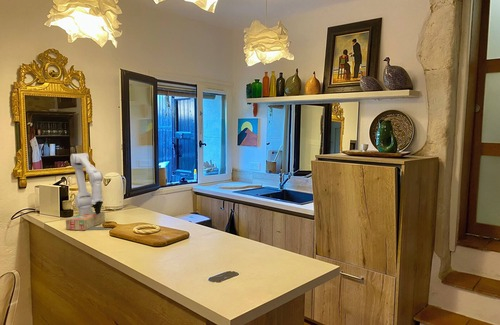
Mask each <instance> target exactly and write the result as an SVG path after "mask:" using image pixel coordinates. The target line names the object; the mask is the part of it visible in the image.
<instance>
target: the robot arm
mask: <svg viewBox="0 0 500 325" xmlns="http://www.w3.org/2000/svg"><path fill="white" fill-rule="evenodd" d="M69 157H70V160H69V161H70V166H71V168H74V174H75V178H76V184H77V189H78V193H77V194H75V197H74V199H75V201H74V203H75V207H76V208H77V209H78V215H85V214H87V213H91V212H95V213H96V214H100V212H102V211H101V209H102V206H103V203H104V200H105V198H103V189H102V181H103V180H104V177H103V176H104V175H103V172H102V171H100V170H97V168H96V167H95V166H94V165H93V164H91V163H90V162H91V161H89V160H90V156H89V154H88V152H84V153H83V152H82V153H71V154H70V156H69ZM84 168H85V169H84ZM84 170H85V172H86V174H87V175H88V179H89V184H90V188H91V193H90V192H89V191H88V189H87V184H86V180H85V179H86V178H85V174H84ZM92 207H93V208H92ZM93 209H94V210H93Z"/></svg>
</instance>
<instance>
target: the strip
mask: <svg viewBox="0 0 500 325" xmlns="http://www.w3.org/2000/svg"><path fill="white" fill-rule="evenodd" d="M103 227H104V226H93V227H90V228H88V229H86V230H76V232H77V231H78V232H79V231H109V230H110V229H112V228H103ZM112 230H113V229H112ZM110 231H111V230H110Z"/></svg>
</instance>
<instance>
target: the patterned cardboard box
mask: <svg viewBox="0 0 500 325" xmlns="http://www.w3.org/2000/svg"><path fill="white" fill-rule="evenodd" d="M105 216H106V213H105V211H100V214H96V213H95V211H93V212H91V213H87V214H85V215H79V214H78V215H73V216H71V217H68V218H65V229H66V230H71V231H72V230H74V231H77V230H85V231H87V230H86V229H88V228H90V227H96V226H97V225H100V224H102V223H105V222H106V217H105Z"/></svg>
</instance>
